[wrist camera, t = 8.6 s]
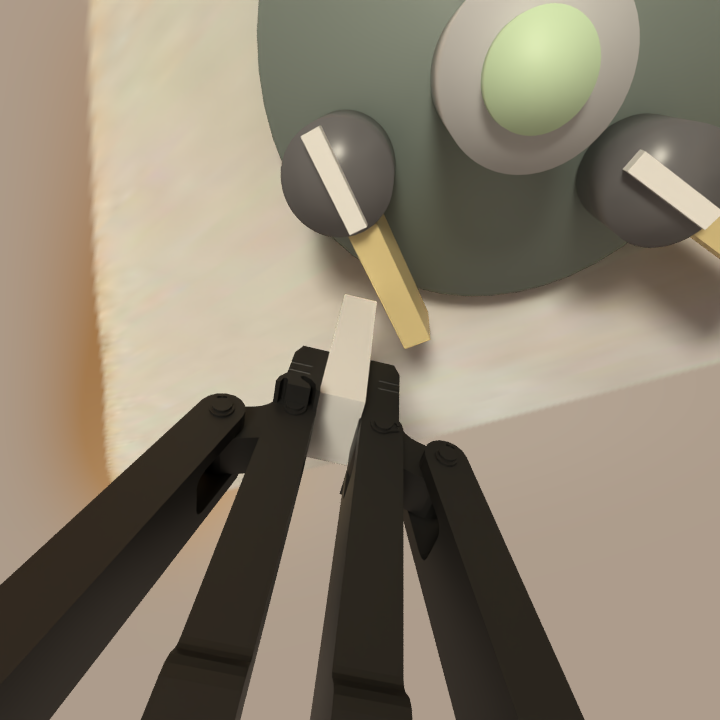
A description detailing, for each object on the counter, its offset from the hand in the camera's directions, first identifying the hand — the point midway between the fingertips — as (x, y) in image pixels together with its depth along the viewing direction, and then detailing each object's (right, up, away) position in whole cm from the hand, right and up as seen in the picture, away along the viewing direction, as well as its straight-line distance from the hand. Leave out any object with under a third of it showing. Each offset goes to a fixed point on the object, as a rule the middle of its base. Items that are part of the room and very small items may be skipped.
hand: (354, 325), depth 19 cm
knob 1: (+1, +4, +1) cm, 5 cm away
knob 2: (+13, +5, -1) cm, 14 cm away
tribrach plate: (+5, +10, -2) cm, 11 cm away
